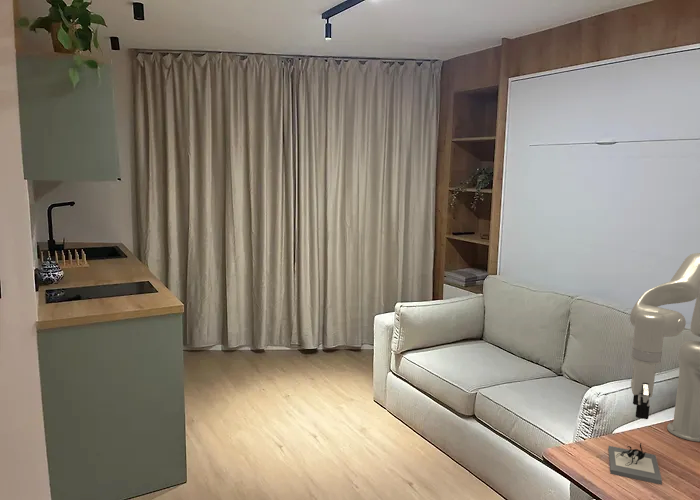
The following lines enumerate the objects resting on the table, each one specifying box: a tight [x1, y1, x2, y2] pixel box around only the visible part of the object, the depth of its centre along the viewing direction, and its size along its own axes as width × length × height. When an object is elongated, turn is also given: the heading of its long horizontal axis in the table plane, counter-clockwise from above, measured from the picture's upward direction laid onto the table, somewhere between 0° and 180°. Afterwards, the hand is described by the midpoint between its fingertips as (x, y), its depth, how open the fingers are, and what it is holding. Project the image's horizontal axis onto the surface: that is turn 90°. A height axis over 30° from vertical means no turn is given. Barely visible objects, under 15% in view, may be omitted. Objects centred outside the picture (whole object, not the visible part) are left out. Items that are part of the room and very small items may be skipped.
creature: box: [616, 442, 647, 466], centre depth 167 cm, size 8×5×8 cm
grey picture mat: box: [607, 445, 663, 486], centre depth 167 cm, size 16×13×1 cm
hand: (640, 411), depth 165 cm, fingers open, 9 cm apart
